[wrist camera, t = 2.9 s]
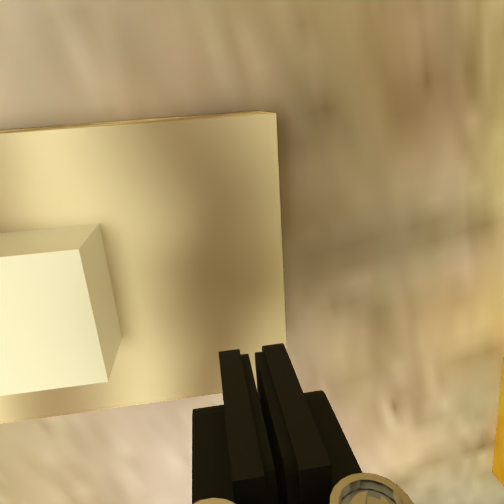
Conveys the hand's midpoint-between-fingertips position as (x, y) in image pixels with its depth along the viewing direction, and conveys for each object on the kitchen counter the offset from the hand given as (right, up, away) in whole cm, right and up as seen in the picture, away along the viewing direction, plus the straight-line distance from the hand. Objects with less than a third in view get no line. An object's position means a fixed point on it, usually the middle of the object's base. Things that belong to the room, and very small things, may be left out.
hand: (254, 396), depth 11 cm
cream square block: (-8, +2, +6) cm, 10 cm away
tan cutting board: (-9, +4, +10) cm, 15 cm away
